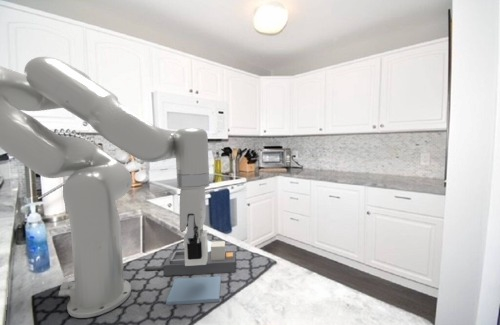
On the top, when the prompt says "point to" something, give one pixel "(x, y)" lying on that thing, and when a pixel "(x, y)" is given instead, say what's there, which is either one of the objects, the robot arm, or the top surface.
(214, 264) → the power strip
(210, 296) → the mat
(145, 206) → the top surface
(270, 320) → the top surface
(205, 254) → the block
